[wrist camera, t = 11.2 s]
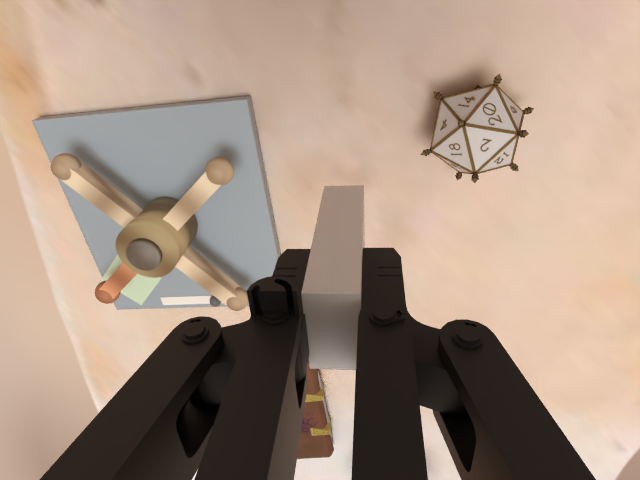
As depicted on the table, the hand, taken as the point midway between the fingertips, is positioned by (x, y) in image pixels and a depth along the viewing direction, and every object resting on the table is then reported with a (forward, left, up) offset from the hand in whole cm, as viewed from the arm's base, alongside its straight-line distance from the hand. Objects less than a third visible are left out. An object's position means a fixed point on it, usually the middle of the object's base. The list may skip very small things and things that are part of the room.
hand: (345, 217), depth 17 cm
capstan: (+12, -21, -25) cm, 35 cm away
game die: (+4, +10, -27) cm, 29 cm away
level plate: (+12, -21, -26) cm, 36 cm away
